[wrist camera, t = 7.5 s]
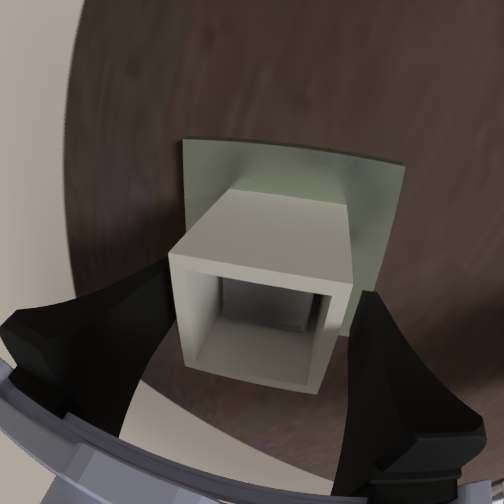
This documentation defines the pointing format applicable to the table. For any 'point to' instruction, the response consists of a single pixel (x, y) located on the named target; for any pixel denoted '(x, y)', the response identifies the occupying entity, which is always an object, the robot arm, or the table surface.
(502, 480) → the beer glass
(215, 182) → the duct stub
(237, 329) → the sleeve
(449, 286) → the table surface
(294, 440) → the table surface
